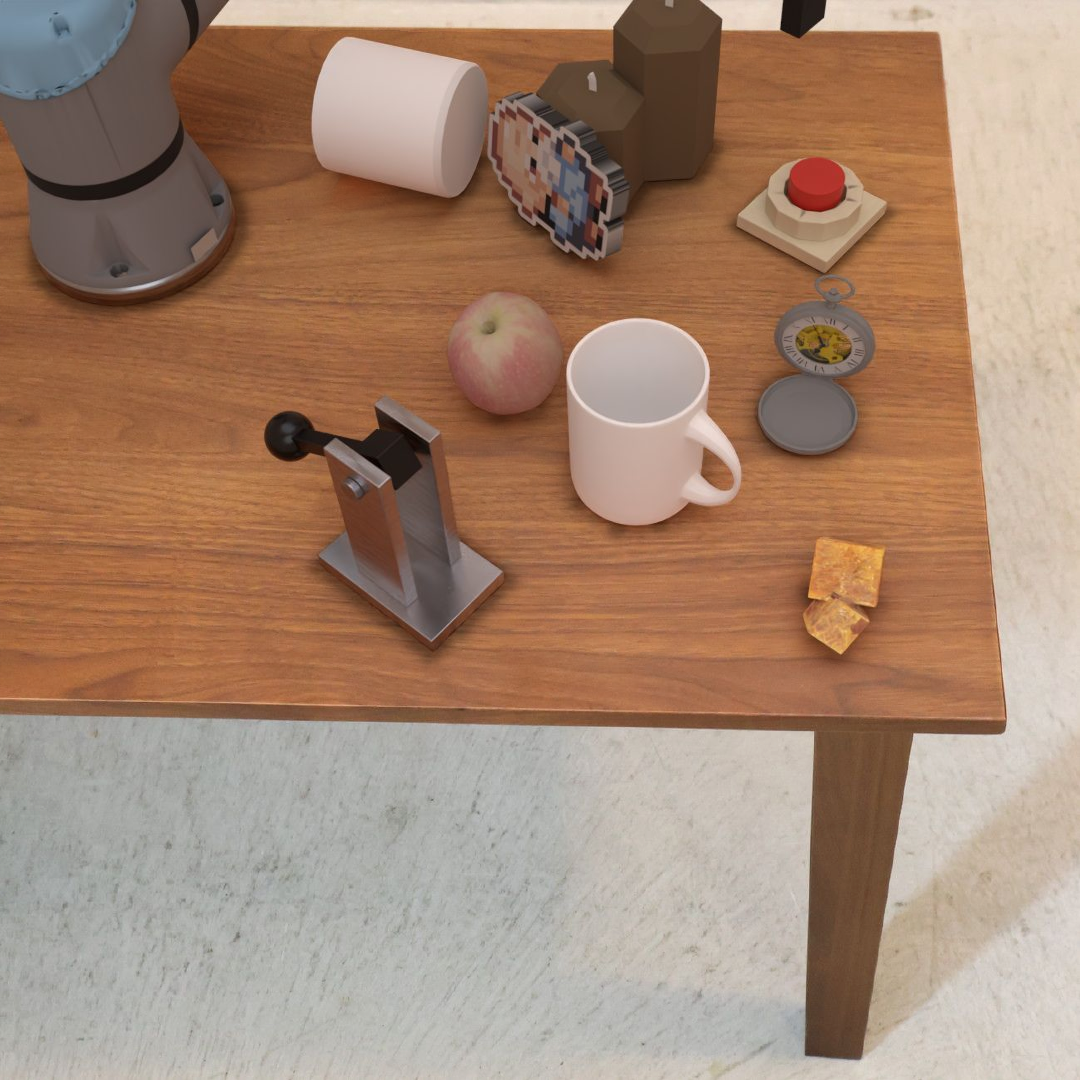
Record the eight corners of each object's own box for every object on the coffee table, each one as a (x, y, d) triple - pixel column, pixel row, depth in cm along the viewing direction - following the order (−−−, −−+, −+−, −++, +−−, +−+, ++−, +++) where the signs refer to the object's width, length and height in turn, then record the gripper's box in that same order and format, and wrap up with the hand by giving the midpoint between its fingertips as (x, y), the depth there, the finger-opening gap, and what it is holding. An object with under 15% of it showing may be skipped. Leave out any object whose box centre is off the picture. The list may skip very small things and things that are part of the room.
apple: (472, 343, 100) (462, 262, 93) (576, 360, 98) (573, 279, 92) (439, 428, 95) (427, 349, 89) (547, 447, 94) (543, 369, 87)
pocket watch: (777, 470, 92) (793, 370, 84) (734, 377, 97) (745, 273, 88) (893, 440, 93) (920, 339, 85) (844, 350, 98) (866, 245, 89)
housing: (735, 226, 105) (738, 196, 103) (797, 169, 108) (801, 138, 106) (824, 274, 102) (829, 243, 99) (885, 213, 105) (891, 183, 103)
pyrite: (868, 651, 86) (801, 637, 87) (889, 545, 85) (822, 532, 86) (864, 661, 81) (793, 646, 82) (887, 549, 80) (815, 535, 82)
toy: (617, 274, 103) (633, 159, 95) (602, 282, 102) (617, 166, 94) (501, 180, 109) (507, 65, 101) (486, 187, 108) (491, 71, 101)
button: (776, 196, 103) (778, 178, 101) (807, 167, 104) (810, 149, 103) (821, 220, 101) (824, 202, 100) (852, 190, 103) (856, 172, 101)
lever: (272, 468, 89) (245, 429, 87) (308, 437, 90) (282, 398, 88) (393, 502, 78) (366, 458, 76) (432, 466, 79) (406, 422, 78)
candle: (702, 90, 114) (713, -81, 101) (723, 205, 106) (738, 36, 94) (536, 101, 114) (526, -68, 101) (544, 218, 106) (535, 51, 94)
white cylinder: (448, 72, 98) (316, 44, 100) (433, 211, 103) (307, 182, 105) (507, 51, 109) (386, 26, 111) (491, 178, 114) (375, 151, 116)
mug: (695, 579, 88) (705, 477, 79) (544, 489, 92) (537, 383, 83) (769, 489, 91) (786, 382, 82) (620, 406, 96) (621, 297, 87)
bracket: (320, 565, 90) (277, 431, 78) (392, 500, 92) (360, 361, 81) (433, 651, 86) (405, 524, 74) (504, 581, 88) (488, 447, 77)
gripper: (1008, -387, 67) (923, 33, 87) (787, -451, 73) (754, -42, 92) (922, -326, 64) (854, 95, 84) (699, -397, 70) (683, 14, 89)
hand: (802, 23), depth 88 cm, fingers closed
